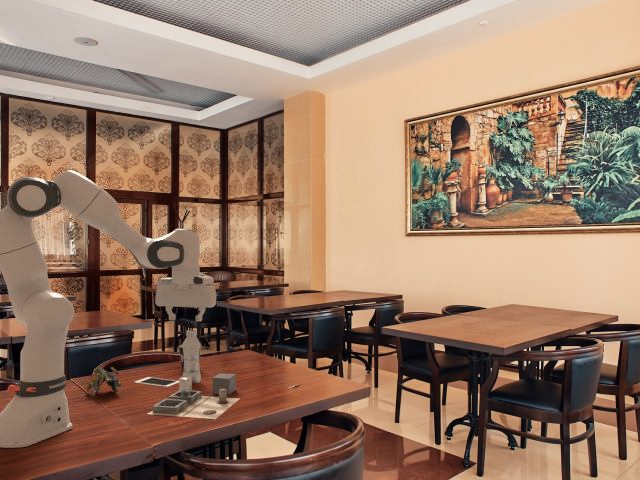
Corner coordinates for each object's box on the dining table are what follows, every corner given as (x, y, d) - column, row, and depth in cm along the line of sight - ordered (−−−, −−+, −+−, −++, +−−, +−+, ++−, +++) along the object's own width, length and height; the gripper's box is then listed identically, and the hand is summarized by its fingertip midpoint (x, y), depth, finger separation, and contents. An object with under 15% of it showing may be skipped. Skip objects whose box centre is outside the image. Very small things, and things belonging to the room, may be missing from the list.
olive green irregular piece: (113, 407, 181) (130, 381, 179) (85, 409, 172) (103, 382, 170) (100, 384, 187) (117, 359, 185) (73, 386, 178) (89, 359, 176)
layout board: (215, 424, 148) (215, 405, 148) (147, 418, 153) (147, 400, 153) (240, 403, 168) (240, 386, 168) (178, 399, 172) (178, 382, 172)
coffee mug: (178, 367, 216) (178, 344, 216) (199, 366, 218) (199, 343, 218) (179, 374, 205) (179, 349, 205) (201, 372, 207) (201, 348, 207)
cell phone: (148, 378, 200) (148, 376, 200) (181, 382, 194) (181, 381, 194) (133, 383, 193) (133, 381, 193) (167, 388, 187) (167, 386, 187)
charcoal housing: (229, 399, 172) (229, 378, 172) (212, 398, 173) (212, 377, 173) (235, 394, 178) (235, 374, 178) (219, 393, 179) (219, 373, 179)
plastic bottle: (196, 386, 187) (196, 332, 187) (179, 385, 188) (179, 331, 188) (203, 382, 193) (203, 329, 193) (187, 381, 195) (187, 329, 195)
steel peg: (188, 402, 164) (188, 380, 164) (176, 401, 165) (176, 379, 165) (193, 398, 168) (193, 377, 168) (182, 397, 169) (182, 376, 169)
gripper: (151, 278, 166) (151, 320, 166) (210, 279, 162) (210, 323, 161) (161, 277, 172) (161, 318, 172) (218, 278, 168) (218, 320, 168)
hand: (185, 320), depth 167 cm, fingers open, 8 cm apart
